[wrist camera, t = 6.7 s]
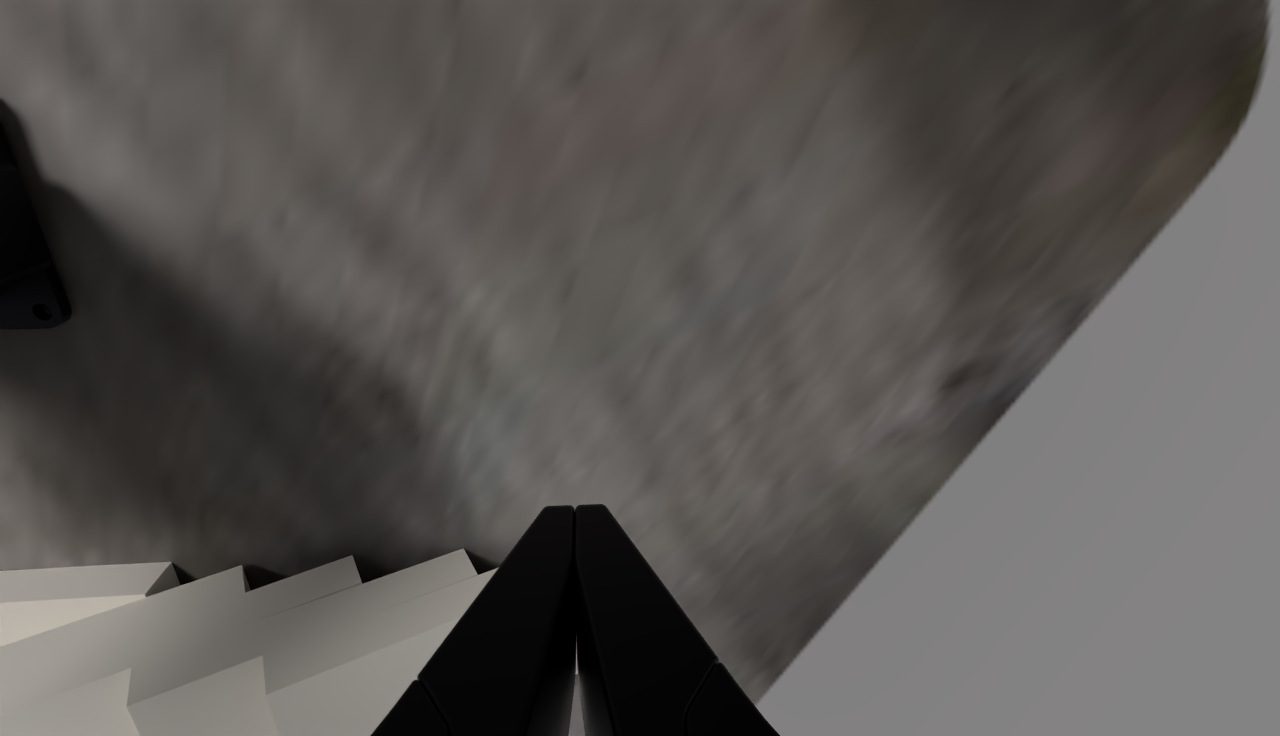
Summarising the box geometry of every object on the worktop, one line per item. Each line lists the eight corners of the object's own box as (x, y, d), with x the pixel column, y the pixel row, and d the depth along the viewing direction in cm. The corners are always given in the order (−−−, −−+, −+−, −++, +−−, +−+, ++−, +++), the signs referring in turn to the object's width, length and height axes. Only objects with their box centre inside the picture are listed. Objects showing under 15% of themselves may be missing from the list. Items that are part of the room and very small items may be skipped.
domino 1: (210, 660, 25) (-68, 679, 24) (172, 561, 23) (-134, 577, 22) (187, 697, 24) (-110, 719, 23) (145, 594, 22) (-185, 613, 21)
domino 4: (476, 645, 26) (180, 772, 21) (463, 547, 24) (131, 664, 19) (490, 675, 25) (179, 817, 20) (477, 574, 23) (126, 706, 18)
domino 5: (569, 639, 26) (298, 761, 22) (564, 542, 24) (262, 654, 19) (587, 668, 25) (303, 805, 20) (583, 568, 23) (265, 695, 18)
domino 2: (276, 663, 25) (-78, 809, 20) (241, 564, 23) (-163, 701, 18) (281, 693, 24) (-94, 857, 19) (244, 592, 22) (-188, 747, 17)
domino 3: (376, 652, 26) (53, 791, 21) (352, 554, 23) (-14, 683, 19) (386, 682, 24) (45, 837, 19) (361, 581, 22) (-29, 727, 17)
